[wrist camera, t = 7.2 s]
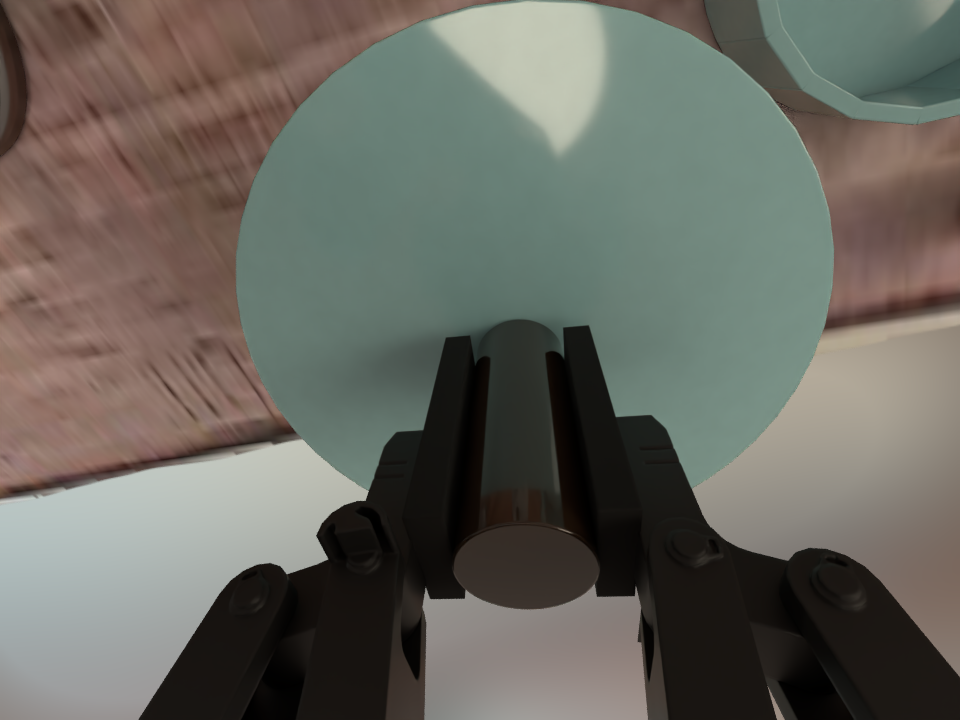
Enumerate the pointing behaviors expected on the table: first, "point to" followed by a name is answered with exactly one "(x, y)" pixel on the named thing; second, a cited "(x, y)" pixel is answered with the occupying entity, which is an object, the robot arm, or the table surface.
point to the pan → (848, 54)
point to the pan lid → (534, 261)
